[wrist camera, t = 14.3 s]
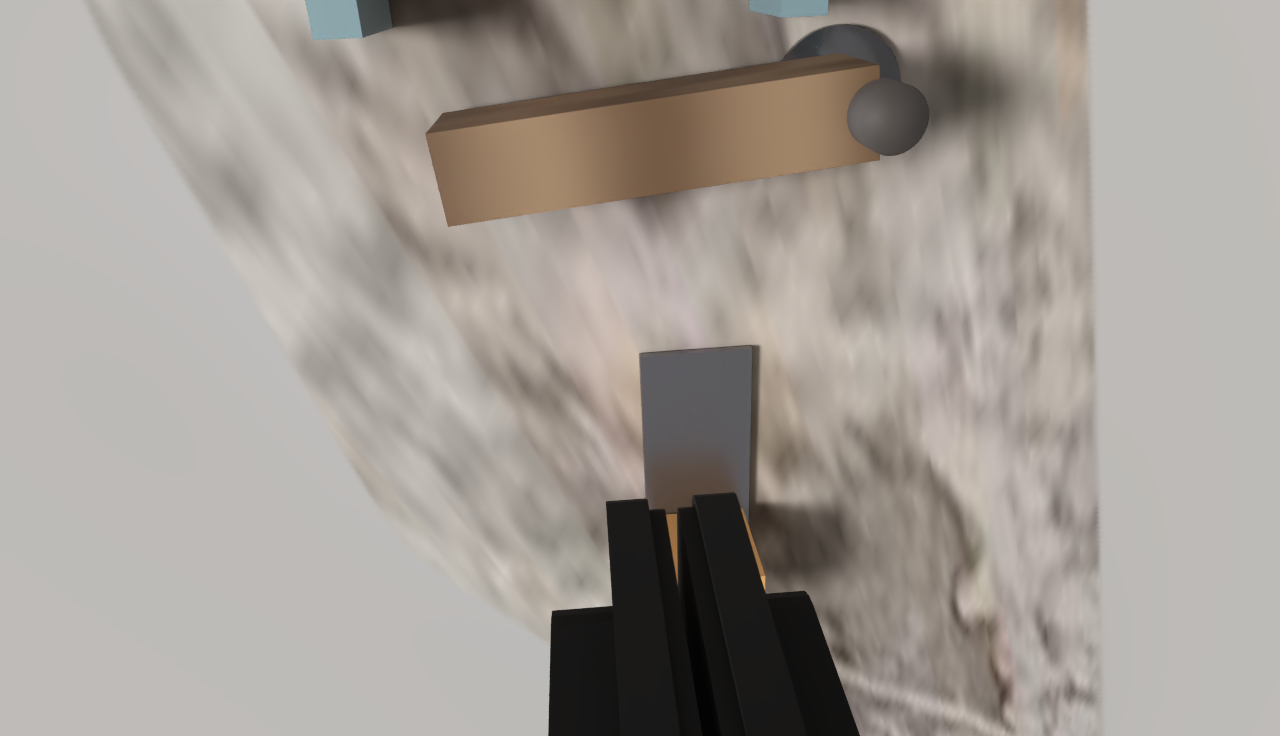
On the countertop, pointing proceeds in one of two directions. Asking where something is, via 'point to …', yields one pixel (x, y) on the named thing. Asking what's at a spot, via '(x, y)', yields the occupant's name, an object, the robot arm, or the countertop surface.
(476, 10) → the countertop surface
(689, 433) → the grey flat plate
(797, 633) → the robot arm
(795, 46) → the hinge base
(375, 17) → the keeper bay
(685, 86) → the bar
